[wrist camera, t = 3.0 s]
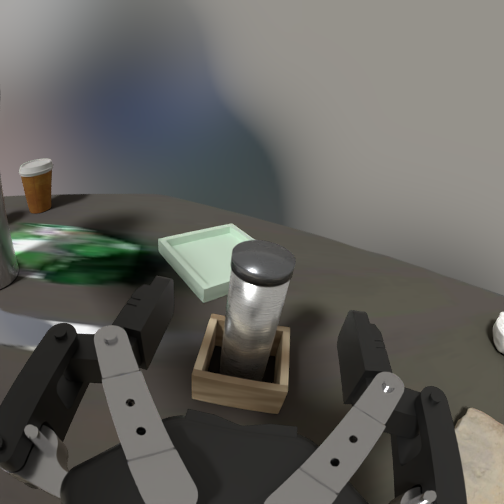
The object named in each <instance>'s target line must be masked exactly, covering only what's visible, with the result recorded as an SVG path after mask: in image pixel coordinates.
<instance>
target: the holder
mask: <svg viewBox="0 0 504 504" xmlns="http://www.w3.org/2000/svg"><path fill="white" fill-rule="evenodd" d="M224 324H225V316H222V315H217V314H211V317H210V320H209V323H208V326H207V329H206V332H205V335H204V338H203V341H202V344H201V347H200V351H199V354H198V357H197V360H196V363H195V366H194V369H193V372H192V399H196V400H200V401H205V402H209V403H214V404H219V405H224V406H229V407H235V408H240V409H246V410H253V411H259V412H266V413H273V414H278V413H279V411H280V409H281V407H282V404H283V402H284V400H285V398H286V395H287V393H288V377H289V349H290V328H289V327H283V326H277V330H276V334H275V337H274V341H273V344H272V348H271V351H270V356H275V369H274V381H273V383H266V382H260V381H254V380H248V379H242V378H237V377H231V376H226V375H221V374H216V373H211V372H207V371H208V368H209V364H210V361H211V357H212V353H213V350H214V346H220V347H222V341H223V333H224Z"/></svg>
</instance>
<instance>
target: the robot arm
mask: <svg viewBox="0 0 504 504" xmlns="http://www.w3.org/2000/svg"><path fill="white" fill-rule="evenodd" d="M18 273H19V267H18V263H17V258H16V255H15V252H14V248H13V243H12V239H11V235H10V230H9V226H8V221H7V215H6V210H5V204H4V198H3V192H2V185H1V176H0V289H2V288H4V287H6V286H7V285H9V284H10V283H11V282H12V281H13V280H14V279H15V278H16V277H17V275H18ZM173 312H174V281H173V279H171V278H166V277H161V276H156V277H155V279H154V280H153V282H152V283H151V285H146V284H144V285H142V286H141V287H139V288H138V289H136V290H135V292H134V293H133V294H132V296H131V298H130V299H129V300H128V302H127V304H126V305H125V306H124V307H123V309H122V310H121V312H120V313H119V315H118V316H117V318H116V319H115V321H114V322H113V324H112V325H110V326H105V327H102V328H101V329H99V330H98V331H97V332H96V334H77V333H76V330H75V328H74V327H73V326H72V325H70V324H67V323H60V324H56V325H54V326H53V327H51V328H50V329H49V330H48V332H47V333H46V334H45V336H44V337H43V339H42V340H41V342H40V343H39V344H38V346H37V347H36V349H35V350H34V352H33V353H32V355H31V356H30V358H29V359H28V361H27V362H26V364H25V366H24V367H23V369H22V370H21V372H20V373H19V375H18V377H17V378H16V380H15V382H14V383H13V385H12V386H11V388H10V390H9V392H8V393H7V395H6V397H5V398H4V400H3V402H2V404H1V405H0V467H1V468H2V469H3V470H4V471H6V472H7V473H8V474H10V475H11V476H12V477H14V478H15V479H17V480H18V481H20V482H23V483H24V484H26V485H27V486H29V487H31V488H34V489H41V490H43V491H45V492H47V493H49V494H51V495H52V496H54V497H56V498H58V499H60V500H61V503H62V504H368V503H367V502H366V500H365V499H364V498H363V497H362V496H361V495H360V494H359V493H358V491H357V490H356V489H355V488H354V487H353V486H352V485H351V483H350V482H349V479H350V478H351V477H352V476H353V474H354V473H355V472H356V470H357V469H358V468H359V466H360V465H361V463H362V462H363V461H364V459H365V458H366V456H367V455H368V454H369V452H370V451H371V449H372V448H373V446H374V445H375V443H376V442H377V440H378V439H379V437H380V435H381V434H382V432H387V433H390V434H391V444H392V456H393V470H394V490H395V498H394V499H393V500H391V501H390V502H389V504H467V496H466V488H465V481H464V474H463V468H462V462H461V457H460V452H459V447H458V442H457V437H456V433H455V429H454V424H453V420H452V416H451V412H450V409H449V405H448V401H447V398H446V396H445V394H444V393H443V392H442V391H441V390H440V389H439V388H437V387H434V386H428V387H425V388H424V389H423V390H422V391H421V393H420V392H417V391H414V390H411V389H408V388H405V387H404V384H403V382H402V380H401V379H400V378H399V377H398V376H397V375H395V374H393V373H392V370H391V366H390V362H389V359H388V355H387V352H386V349H385V345H384V342H383V338H382V334H381V332H380V331H379V329H378V328H377V327H376V325H375V324H370V322H369V319H368V315H367V313H366V312H362V311H354V310H350V311H349V312H348V315H347V317H346V319H345V322H344V324H343V326H342V329H341V331H340V333H339V336H338V341H337V349H338V357H339V365H340V373H341V382H342V391H343V401H344V404H352V406H353V407H352V408H351V410H350V411H349V412H348V413H347V415H346V416H345V417H344V418H343V420H342V421H341V422H340V423H339V424H338V426H337V427H336V428H335V429H334V430H333V432H332V433H331V434H330V435H329V436H328V437H327V439H326V440H325V441H324V442H323V443H322V444H321V445H320V446H318V445H317V444H315V443H314V442H312V441H311V440H309V439H308V438H306V437H303V436H301V435H298V434H297V427H295V426H285V425H276V424H263V425H249V426H241V425H238V424H236V423H233V422H231V421H228V420H226V419H224V418H221V417H219V416H217V415H214V414H209V413H204V412H200V411H195V410H191V409H188V410H187V413H186V416H173V417H168V418H165V419H162V420H161V418H160V416H159V414H158V411H157V409H156V407H155V404H154V402H153V400H152V397H151V395H150V392H149V390H148V387H147V385H146V382H145V380H144V377H143V374H142V372H141V370H139V368H142V369H146V370H147V369H148V367H149V365H150V363H151V361H152V358H153V356H154V354H155V352H156V350H157V348H158V346H159V343H160V341H161V339H162V337H163V335H164V333H165V331H166V329H167V327H168V325H169V323H170V320H171V318H172V316H173ZM89 383H102V384H103V387H104V391H105V395H106V398H107V402H108V405H109V409H110V412H111V415H112V418H113V422H114V425H115V428H116V431H117V434H118V437H119V440H120V442H121V443H119V444H117V445H115V446H114V447H112V448H110V449H108V450H106V451H104V452H102V453H101V454H99V455H97V456H95V457H93V458H91V459H89V460H87V461H85V462H83V463H81V464H79V465H77V466H75V467H73V468H72V469H71V470H70V471H69V470H68V467H67V461H68V450H67V447H66V446H65V444H64V443H63V440H64V438H65V436H66V433H67V431H68V429H69V426H70V424H71V422H72V420H73V417H74V415H75V413H76V411H77V408H78V406H79V404H80V402H81V400H82V398H83V396H84V393H85V391H86V389H87V387H88V385H89Z"/></svg>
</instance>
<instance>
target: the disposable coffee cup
mask: <svg viewBox="0 0 504 504" xmlns="http://www.w3.org/2000/svg"><path fill="white" fill-rule="evenodd" d="M52 168H53V164H52V161H51V159H37V160H32V161H29V162H26V163H24V164H22V165H21V166H20V171H19V174H20V176H21V178H22V183H23V187H24V191H25V195H26V199H27V203H28V207H29V210H30V212H31V213H41V212H44V211H47V210H48V209H50V208H51V180H52V179H51V178H52Z"/></svg>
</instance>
